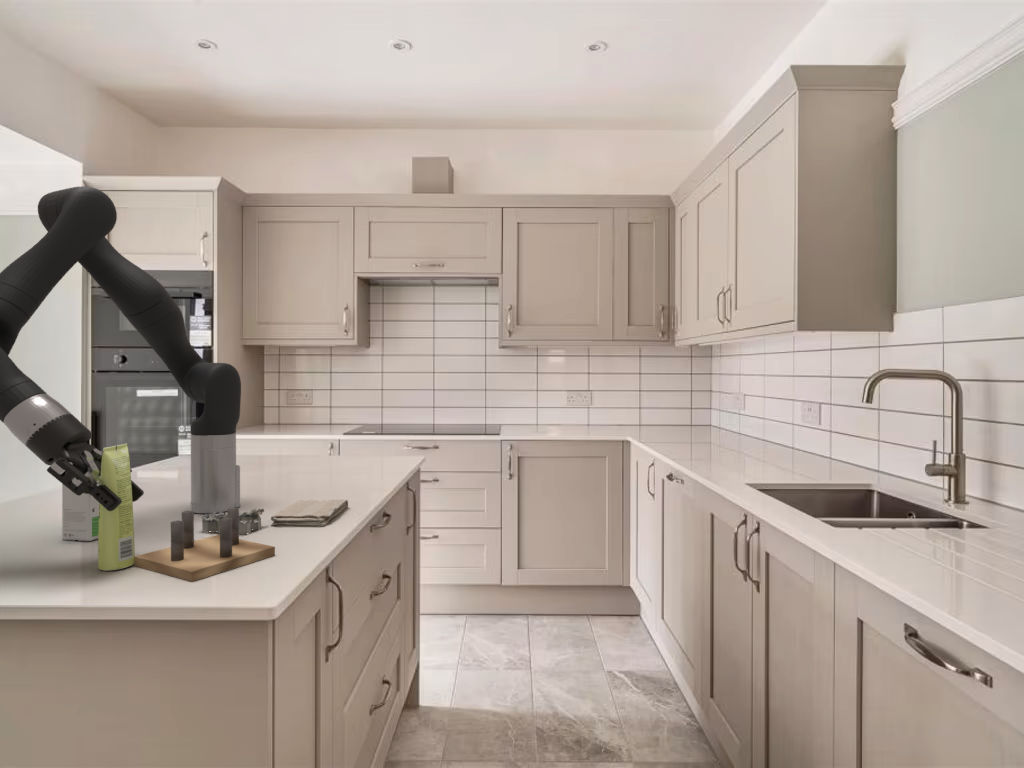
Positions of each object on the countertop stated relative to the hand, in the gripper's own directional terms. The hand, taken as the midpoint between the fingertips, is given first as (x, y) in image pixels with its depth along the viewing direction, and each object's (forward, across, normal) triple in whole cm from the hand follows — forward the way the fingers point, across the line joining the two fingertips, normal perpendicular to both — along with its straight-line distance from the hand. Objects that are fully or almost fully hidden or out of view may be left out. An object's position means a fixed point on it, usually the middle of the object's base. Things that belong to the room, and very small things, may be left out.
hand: (128, 501), depth 97 cm
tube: (+6, 0, +9) cm, 11 cm away
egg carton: (+14, +22, +2) cm, 26 cm away
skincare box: (-4, +20, +19) cm, 28 cm away
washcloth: (+23, +32, -8) cm, 40 cm away
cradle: (+15, +2, -1) cm, 15 cm away
